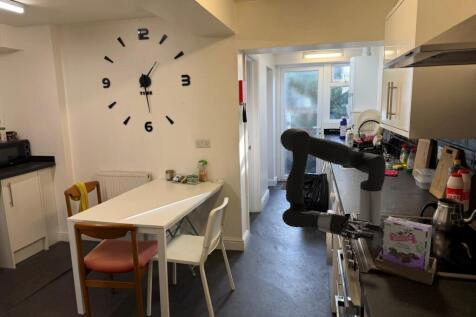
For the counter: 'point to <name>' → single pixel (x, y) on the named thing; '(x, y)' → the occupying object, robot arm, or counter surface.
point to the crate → (408, 270)
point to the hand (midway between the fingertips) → (376, 232)
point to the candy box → (406, 243)
